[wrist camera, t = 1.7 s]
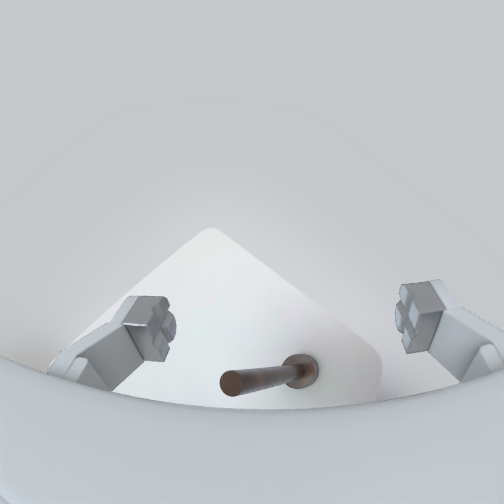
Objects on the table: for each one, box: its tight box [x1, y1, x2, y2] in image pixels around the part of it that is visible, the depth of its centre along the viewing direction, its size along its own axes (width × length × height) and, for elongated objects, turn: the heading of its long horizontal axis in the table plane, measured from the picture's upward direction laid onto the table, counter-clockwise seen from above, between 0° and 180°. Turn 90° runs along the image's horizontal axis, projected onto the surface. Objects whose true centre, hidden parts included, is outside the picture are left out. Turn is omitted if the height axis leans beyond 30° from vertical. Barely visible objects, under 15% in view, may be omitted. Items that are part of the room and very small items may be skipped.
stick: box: [220, 354, 318, 397], centre depth 27 cm, size 4×4×18 cm
